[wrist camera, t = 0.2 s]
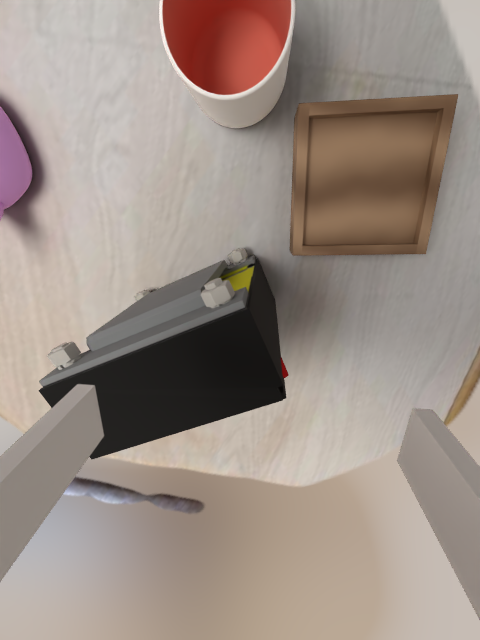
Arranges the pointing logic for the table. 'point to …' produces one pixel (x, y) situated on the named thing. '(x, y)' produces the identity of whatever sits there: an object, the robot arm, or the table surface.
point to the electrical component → (179, 356)
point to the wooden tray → (368, 174)
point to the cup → (230, 54)
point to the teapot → (12, 164)
